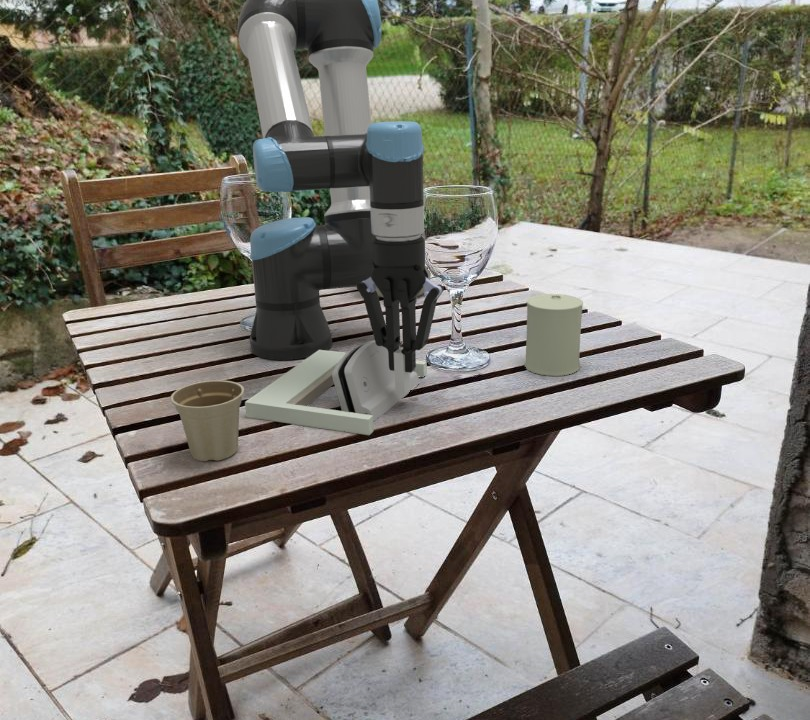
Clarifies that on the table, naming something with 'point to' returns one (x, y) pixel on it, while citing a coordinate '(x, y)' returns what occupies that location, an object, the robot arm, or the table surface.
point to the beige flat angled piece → (310, 397)
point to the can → (553, 334)
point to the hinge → (367, 380)
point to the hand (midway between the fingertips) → (403, 390)
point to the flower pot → (210, 417)
